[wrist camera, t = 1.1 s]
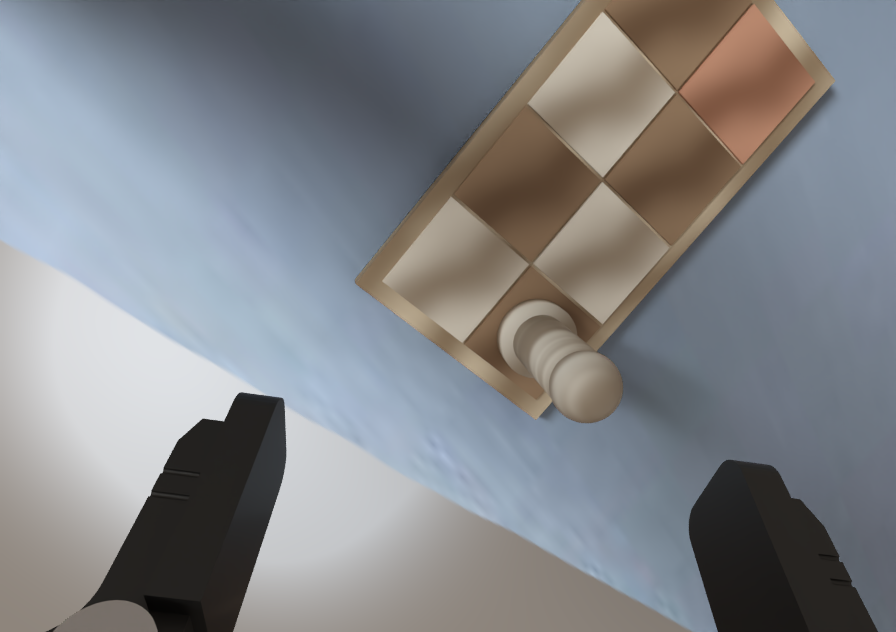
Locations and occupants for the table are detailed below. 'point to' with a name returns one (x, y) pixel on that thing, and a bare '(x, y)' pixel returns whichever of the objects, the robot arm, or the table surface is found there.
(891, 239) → the table surface
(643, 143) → the board
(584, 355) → the pawn
